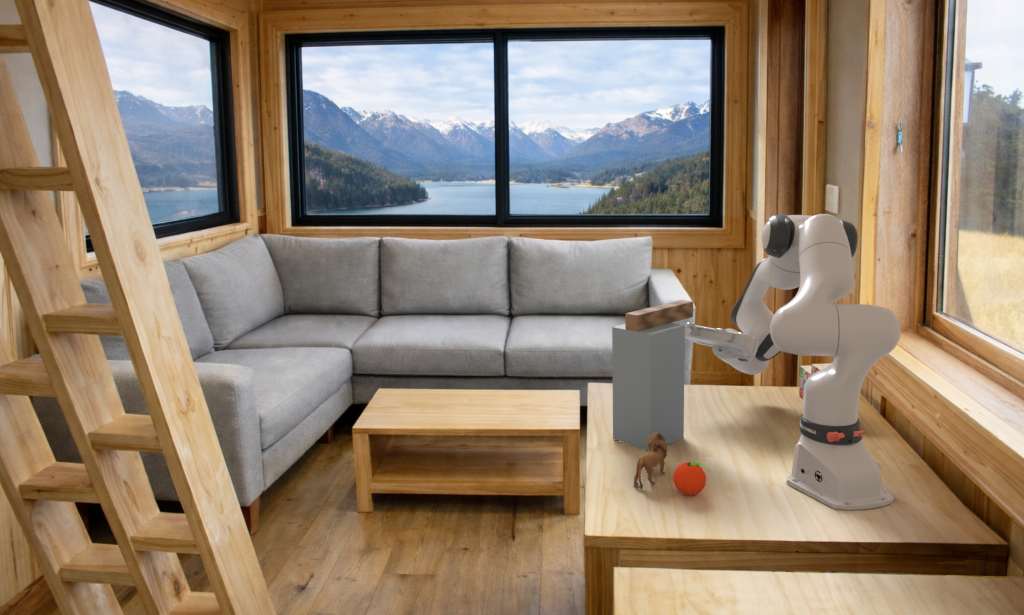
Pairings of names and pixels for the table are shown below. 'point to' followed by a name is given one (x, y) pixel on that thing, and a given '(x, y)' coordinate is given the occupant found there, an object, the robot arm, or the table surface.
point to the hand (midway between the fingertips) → (703, 328)
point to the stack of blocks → (809, 374)
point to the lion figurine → (652, 458)
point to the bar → (658, 315)
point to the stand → (648, 383)
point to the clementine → (689, 478)
